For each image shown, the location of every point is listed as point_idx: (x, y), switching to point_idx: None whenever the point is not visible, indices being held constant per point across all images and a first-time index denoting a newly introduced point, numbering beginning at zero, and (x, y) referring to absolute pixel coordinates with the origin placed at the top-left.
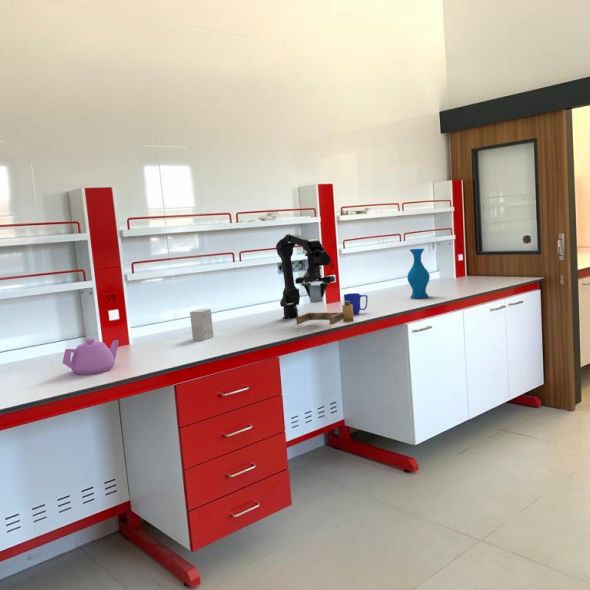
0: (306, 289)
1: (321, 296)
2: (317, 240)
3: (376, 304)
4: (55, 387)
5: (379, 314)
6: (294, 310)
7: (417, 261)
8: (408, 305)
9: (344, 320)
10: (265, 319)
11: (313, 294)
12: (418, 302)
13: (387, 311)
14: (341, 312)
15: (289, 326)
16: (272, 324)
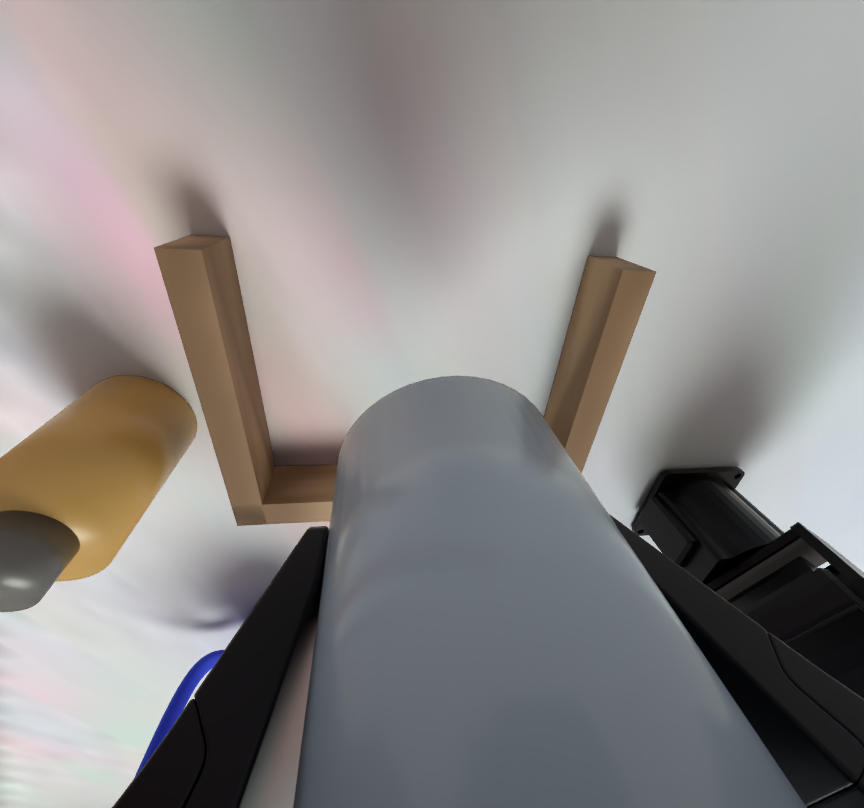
0: (833, 695)
1: (320, 539)
2: None
3: None
4: None
5: (61, 611)
6: (689, 530)
7: None
8: (104, 763)
9: (152, 384)
10: (859, 437)
11: (507, 499)
12: (112, 795)
13: (91, 673)
14: (253, 523)
15: (687, 52)
16: (856, 216)
